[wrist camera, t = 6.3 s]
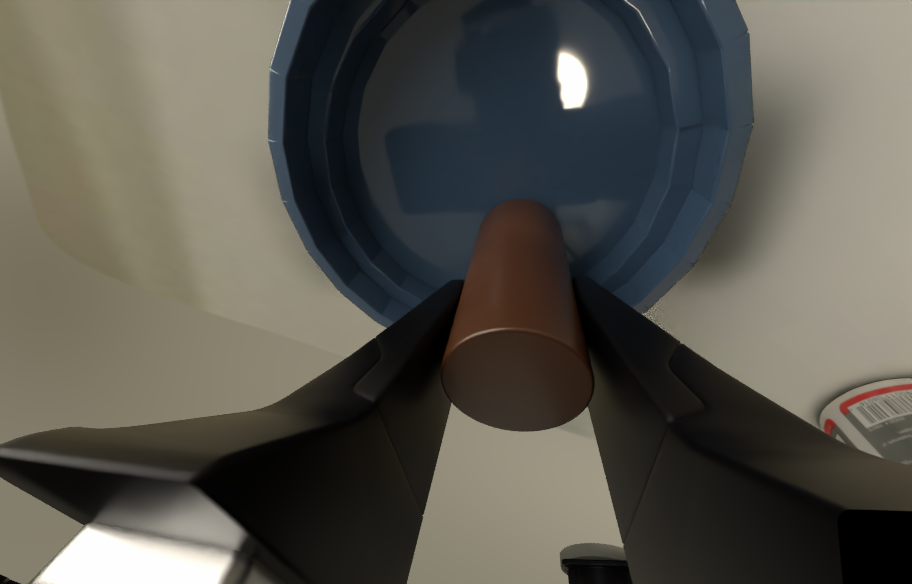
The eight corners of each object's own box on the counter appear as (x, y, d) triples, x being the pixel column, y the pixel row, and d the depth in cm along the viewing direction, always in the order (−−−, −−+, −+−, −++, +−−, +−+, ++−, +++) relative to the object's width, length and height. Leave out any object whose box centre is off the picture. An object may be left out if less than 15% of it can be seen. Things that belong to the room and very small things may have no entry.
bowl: (430, 339, 17) (413, 386, 15) (252, 83, 12) (174, 87, 9) (713, 258, 12) (763, 308, 10) (646, -262, 7) (726, -476, 4)
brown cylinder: (497, 281, 13) (478, 440, 8) (465, 218, 12) (411, 352, 6) (571, 257, 12) (613, 422, 6) (544, 183, 11) (566, 309, 5)
